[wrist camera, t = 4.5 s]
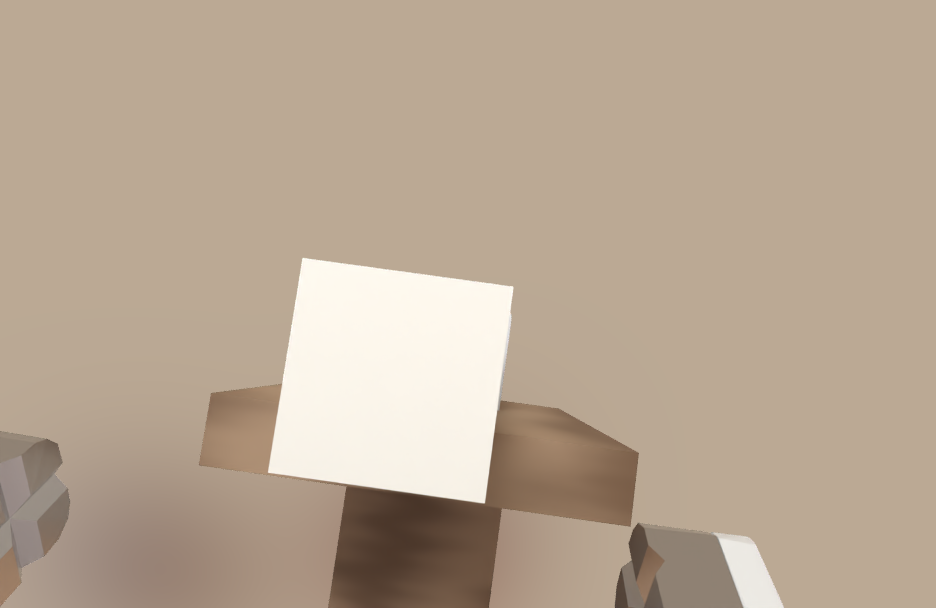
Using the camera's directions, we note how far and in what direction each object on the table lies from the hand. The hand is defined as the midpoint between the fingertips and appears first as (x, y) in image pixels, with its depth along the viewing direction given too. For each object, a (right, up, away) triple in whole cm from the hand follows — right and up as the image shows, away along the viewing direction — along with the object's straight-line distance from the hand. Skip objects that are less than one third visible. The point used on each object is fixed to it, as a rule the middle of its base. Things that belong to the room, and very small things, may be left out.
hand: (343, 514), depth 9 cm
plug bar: (+1, 0, +11) cm, 11 cm away
